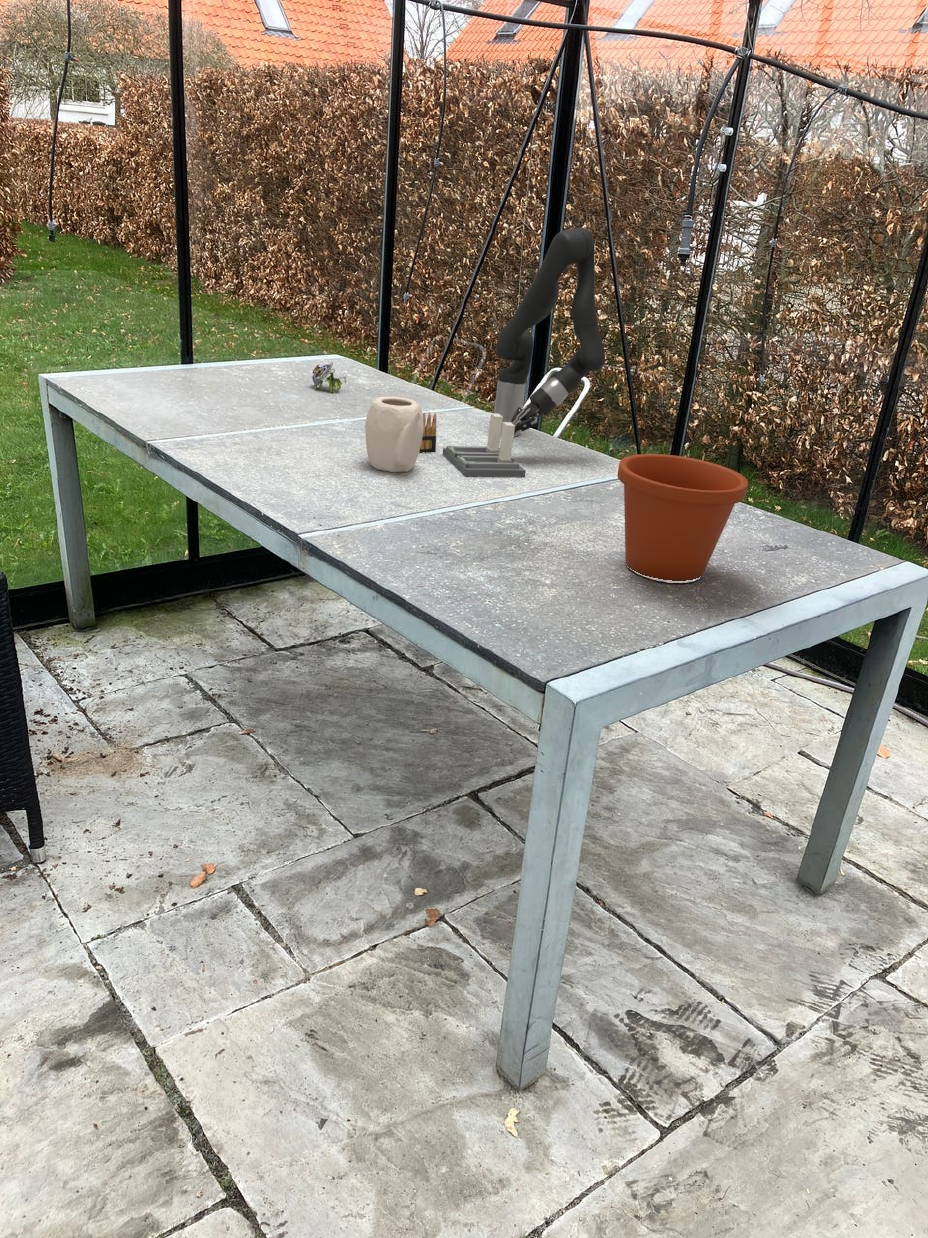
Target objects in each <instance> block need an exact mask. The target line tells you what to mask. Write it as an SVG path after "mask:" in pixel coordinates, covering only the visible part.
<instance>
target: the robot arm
mask: <svg viewBox="0 0 928 1238" xmlns="http://www.w3.org/2000/svg"><path fill="white" fill-rule="evenodd" d="M595 260H596V259H595V242H594V238H593V235H592V233H591V231H590V230H589V229H587V228H586V227H575V228H570V229H564V230H562V231H559V232H558V233H556V234H555V236H554V237H553V238H552V240H551V243H550V245H549V247H548V249H547V252H546V254H545V257H544V259H543V261H542V263H541V265H540V268H539V269H538V271H537V273H536V275H535V277H534V278H533V281H532V282H531V284H530V285H529V287H528V289H527V290H526V293H525V295H524V297H523V298H522V300H521V302H520V304H519V305H518V307H517V309H516V310H515V312H514V314H513V315H512V316H511V318H510V319H509V321H508V322H507V323H506V325H505V326H504V327H503V328H502V329H501V330H502V331H500V333H499V336H498V338H497V340H496V343H495V344H496V346H495V352H496V355H497V356H498V358H500V359H501V360H504V361H513V363H512V364H510V365H509V366H507V367H506V368H503V369H500V371H499V372H498V376H497V386H496V393H495V402H494V409H493V410H494V412H493V414H500V415H501V416H503V419H502V424H503V422H511V423H512V424H513V425H515V430H514V437H518V436H520V432H525V431H527V430H529V429H531V428H534V427H536V426H538V424H539V421H538V419H540V417H541V416H544V417H547V416H548V415H549V414H550V413H552V412H553V411H554V410H555V409H556V408H558V406H559V405H560V404H562V403H563V401H565V399H566V398H567V397H568V396H569V395H570V394H572V392H574V390H576V389H577V388H578V386H580V384H581V381H582V379H583V378H584V377H585V376H586V375H587V374H588V373H589V372H590V371H591V372H595V371H599V370H601V369H602V368H603V366H604V365H605V363H606V350H605V347H604V343H603V339H602V336H601V334H600V330H599V323H598V322H599V320H598V315H597V308H596V299H595V297H596V296H595V270H596V269H595ZM574 264H576V271H577V281H576V287H575V291H574V295H573V298H572V304H571V316H572V322H573V323H572V324H573V329H574V334H575V337H576V339H578V341H579V346H580V349H578V350H577V351H576V352H575V353H574V354H573V355H572V357H571V358H570V359H569V360H568V361H567V363H566V364H565V366H563V367H562V368H561V369H559V371H558V372H556V373H555V374H554V375H553V376H552V377H551V378H549V379H548V380H547V381H545V382H544V383H543V384H542V385H541V386H540V387H539V388H538V389H537V390H536V391H534V393H532V394H531V395H530V396H529V401H530V403H528V404H526V405H525V406H524V403H525V401H524V400H525V394H526V388H527V386H526V385H527V379H528V376H529V374H530V370H531V362H532V357H533V352H534V337H533V334H532V333H531V332H530V331H528V330H529V329H531V328H533V327H534V326H536V325H537V324H539V323H540V322H542V321H543V320H544V319H546V318H547V317H548V316H549V315H550V313H551V312H552V310H553V309H554V307H555V305H556V304H557V301H558V299H559V296H560V285H559V280H560V277H561V276H562V274H563V273H564V271H565V270H566V268H567V267H569V266H570V265H574ZM501 432H502V428H501Z"/></svg>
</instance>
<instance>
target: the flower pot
mask: <svg viewBox="0 0 928 1238" xmlns="http://www.w3.org/2000/svg"><path fill="white" fill-rule="evenodd" d="M617 470H618V471H617V479H618V481H620V482H621V483H622V484H623V498H624V499H623V500H624V502H623V503H624V504H623V505H624V547H625V548H624V551H625V553H624V554H625V556H624V558H625V561H626V562H625V561H624V562H625V565H626V564H627V566H628V567H629V568H631V569H632V570H634V571H636V572H638V573H640V574H642V575H645V576H649V577H653V578H658V579H663V580H672V581H686V580H693V579H696V578H699V577H700V576H702V577H703V575H704V573H705V570H706V569H707V567H708V564H709V562H710V559H711V558H712V556H713V553H714V551H715V548H716V547H717V544H718V542H719V540H720V538H721V535H722V534H723V531H724V529H725V527H726V524H727V522H728V520H729V518H730V516H731V514H732V512H733V509H734V507H735V505H736V504H737V503H741V502H742V501H744V500H745V499H746V496H747V492H748V487H749V480H748V479H747V478H746V477H745V476H744V475H743V474H741V473H740V472H738V471H736V470H733V469H731V468H728V467H726V466H723V465H720V464H719V463H718V464H717V463H714V462H710V461H706V460H702V459H698V458H693V457H687V456H681V455H674V454H673V455H671V454H664V453H663V454H661V453H660V454H659V453H643V454H640V453H639V454H633V455H627V456H625V457H623V458H622V459H621V460H619V464H618V469H617ZM627 566H626V567H627Z"/></svg>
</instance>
